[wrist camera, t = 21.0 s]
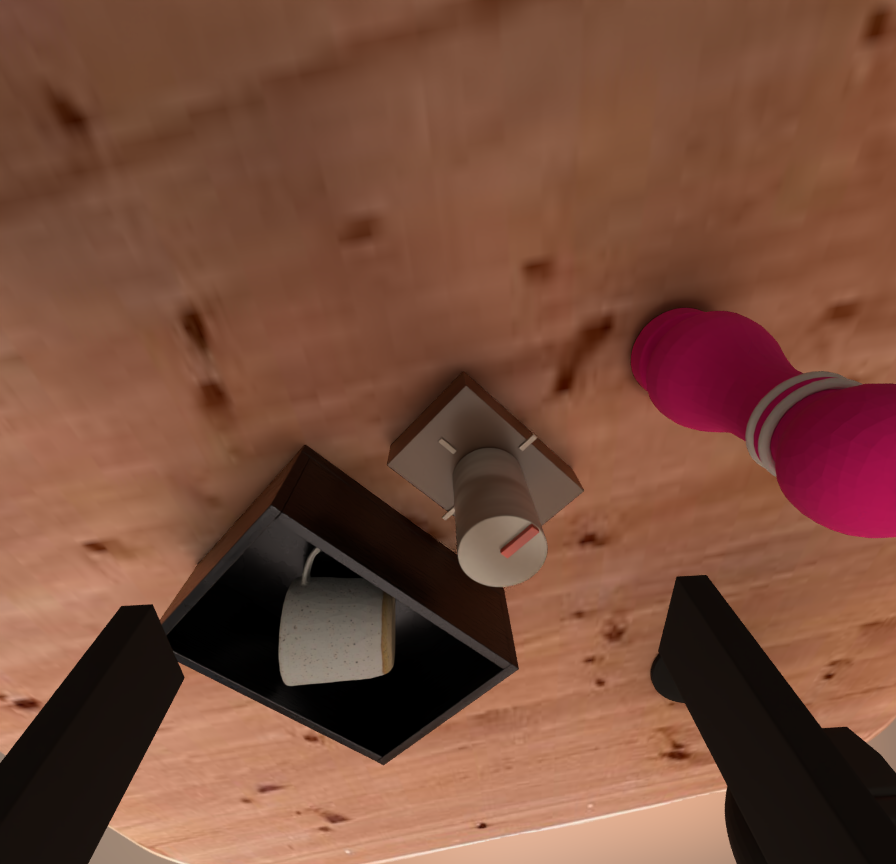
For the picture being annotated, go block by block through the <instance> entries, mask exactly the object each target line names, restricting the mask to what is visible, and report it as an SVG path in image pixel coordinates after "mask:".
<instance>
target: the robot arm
mask: <svg viewBox="0 0 896 864" xmlns="http://www.w3.org/2000/svg"><path fill="white" fill-rule="evenodd" d="M658 652H659V654H660V656H661V658H662V660H663V662H664V663H665V665H666V667H667V669H668V671H669V673H670V675H671V677H672V679H673V681H674V683H675V685H676V687H677V689H678V691H679V693H680V695H681V696H682V698H683V700H684V702H685V704H686V706H687V708H688V710H689V712H690V714H691V716H692V718H693V720H694V722H695V724H696V726H697V727H698V729H699V731H700V733H701V735H702V737H703V739H704V741H705V743H706V745H707V747H708V749H709V751H710V753H711V755H712V757H713V759H714V760H715V762H716V764H717V766H718V768H719V770H720V772H721V774H722V776H723V778H724V780H725V782H726V784H727V786H728V788H729V790H730V791H731V793H732V795H733V797H734V799H735V801H736V803H737V805H738V807H739V809H740V811H741V813H742V815H743V817H744V819H745V821H746V823H747V824H748V826H749V828H750V830H751V832H752V834H753V836H754V838H755V840H756V842H757V844H758V846H759V848H760V850H761V852H762V854H763V855H764V857H765V859H766V861H767V863H768V864H896V773H895V771H894V770H893V769H892V768H891V767H890V766H889V764H888V763H887V762H886V761H885V759H884V758H883V757H882V756H881V755H880V754H879V753H878V752H877V751H876V750H874V749H873V748H872V747H871V746H869V745H868V744H867V743H866V742H865V741H863V740H862V739H861V738H860V737H859V736H857V735H856V734H855V733H854V732H852V731H851V730H850V729H849V728H848V727H835V728H821V726H820V725H819V724H818V722H817V721H816V720H815V718H814V717H813V716H812V714H811V713H810V712H809V710H808V709H807V708H806V706H805V705H804V704H803V702H802V701H801V700H800V698H799V697H798V696H797V694H796V693H795V692H794V690H793V689H792V688H791V687H790V685H789V684H788V683H787V681H786V680H785V679H784V677H783V676H782V675H781V673H780V672H779V671H778V669H777V668H776V667H775V665H774V664H773V663H772V661H771V660H770V659H769V657H768V656H767V655H766V653H765V652H764V651H763V649H762V648H761V647H760V645H759V644H758V643H757V641H756V640H755V639H754V637H753V636H752V635H751V633H750V632H749V631H748V629H747V628H746V627H745V625H744V624H743V623H742V621H741V620H740V619H739V618H738V616H737V615H736V614H735V612H734V611H733V610H732V608H731V607H730V606H729V604H728V603H727V602H726V600H725V599H724V598H723V596H722V595H721V594H720V592H719V591H718V590H717V588H716V587H715V586H714V584H713V583H712V582H711V580H710V579H709V578H708V576H707V575H698V576H680V577H676V581H675V585H674V589H673V593H672V597H671V601H670V605H669V609H668V614H667V618H666V622H665V626H664V630H663V634H662V638H661V642H660V646H659V650H658ZM184 678H185V677H184V675H183V673H182V670H181V668H180V666H179V664H178V661H177V659H176V657H175V654H174V652H173V650H172V648H171V645H170V643H169V641H168V638H167V636H166V634H165V632H164V629H163V627H162V625H161V622H160V620H159V618H158V616H157V613H156V611H155V609H154V606H153V604H151V605H133V606H121V607H120V609H119V610H118V611H117V612H116V614H115V615H114V616H113V618H112V619H111V620H110V622H109V623H108V624H107V625H106V627H105V628H104V629H103V631H102V632H101V633H100V634H99V636H98V637H97V638H96V640H95V641H94V642H93V644H92V645H91V646H90V647H89V649H88V650H87V651H86V653H85V654H84V655H83V657H82V658H81V659H80V660H79V662H78V663H77V664H76V666H75V667H74V668H73V669H72V671H71V672H70V673H69V675H68V676H67V677H66V679H65V680H64V681H63V682H62V684H61V685H60V686H59V688H58V689H57V690H56V692H55V693H54V694H53V695H52V697H51V698H50V699H49V701H48V702H47V703H46V704H45V706H44V707H43V708H42V710H41V711H40V712H39V714H38V715H37V716H36V717H35V719H34V720H33V721H32V723H31V724H30V725H29V727H28V728H27V729H26V730H25V732H24V733H23V734H22V736H21V737H20V738H19V739H18V741H17V742H16V743H15V745H14V746H13V747H12V749H11V750H10V751H9V752H8V754H7V755H6V757H5V758H4V759H3V760H2V762H1V763H0V864H88V863H89V861H90V859H91V857H92V855H93V853H94V851H95V849H96V847H97V846H98V843H99V842H100V840H101V838H102V836H103V834H104V832H105V830H106V828H107V826H108V824H109V822H110V821H111V819H112V817H113V815H114V813H115V811H116V809H117V807H118V805H119V803H120V801H121V799H122V797H123V796H124V794H125V792H126V790H127V788H128V786H129V784H130V782H131V780H132V778H133V776H134V774H135V772H136V771H137V769H138V767H139V765H140V763H141V761H142V759H143V757H144V755H145V753H146V751H147V749H148V747H149V745H150V744H151V742H152V740H153V738H154V736H155V734H156V732H157V730H158V728H159V726H160V724H161V722H162V720H163V719H164V717H165V715H166V713H167V711H168V709H169V707H170V705H171V703H172V701H173V699H174V697H175V695H176V694H177V692H178V690H179V688H180V686H181V684H182V682H183V680H184Z"/></svg>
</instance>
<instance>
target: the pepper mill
mask: <svg viewBox="0 0 896 864" xmlns="http://www.w3.org/2000/svg"><path fill="white" fill-rule="evenodd" d="M631 368H632V372H633V375H634V377H635V379H636V380H637V382H638V383H639V384H640V386H642V387H643V388H644V389H645V390H646V391H648V394H649V397H650V399H651V400H652V402H653V404H654V405H655V407H656V408H657V409H658V410H659V411H660V412H661V413H662V414H663V415H665V416H666V417H668V418H669V419H671V420H672V421H674V422H675V423H677V424H679V425H682V426H684V427H688V428H691V429H695V430H699V431H706V432H729V433H732V434H734V435H736V436H737V437H739V438H741V439H743V440H744V441H746V446H747V449H748V451H749V454H750V455H751V457H752V458H753V460H754V461H756V462H757V463H758V464H759V465H760V466H762V467H764V468H766V469H767V470H768V471H769V472H770V473H771V474H772V475H774V476H776V477H777V481H778V483H779V486H780V488H781V490H782V492H783V493H784V495H785V497H786V498H787V499H788V500H789V501H790V502H791V503H792V504H793V505H794V506H795V507H796V508H797V509H798V510H799V511H800V512H801V513H802V514H804V515H805V516H807V517H808V518H810V519H812V520H813V521H815V522H816V523H818V524H820V525H822V526H825V527H827V528H829V529H831V530H834V531H837V532H840V533H843V534H846V535H852V536H859V537H866V538H887V537H896V384H861V383H859V382H857V381H854V380H850V379H847V378H845V377H843V376H841V375H839V374H836V373H831V372H825V371H818V372H809V373H804V374H803V373H801V372H799V371H797V370H796V369H795V368H794V367H793V366H792V365H791V364H790V363H789V361H788V360H787V358H786V357H785V355H784V353H783V352H782V350H781V348H780V346H779V344H778V342H777V341H776V340H775V339H774V338H773V336H771V335H770V334H769V333H768V332H767V331H766V330H765V329H764V328H763V327H762V326H761V325H759V324H758V323H756V322H754V321H753V320H751V319H749V318H747V317H744V316H742V315H740V314H737V313H733V312H728V311H710V312H704V311H701V310H697V309H694V308H678V309H673V310H670V311H667V312H665V313H663V314H661V315H659V316H657V317H656V318H654V319H653V320H652V321H651V322H649V323H648V324H647V325H646V326H645V327H644V328H643V330H642V331H641V332H640V334H639V336H638V337H637V339H636V341H635V344H634V346H633V349H632V354H631Z"/></svg>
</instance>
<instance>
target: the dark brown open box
mask: <svg viewBox="0 0 896 864" xmlns="http://www.w3.org/2000/svg"><path fill="white" fill-rule="evenodd" d="M314 547H317V548H318V549H320V550H321V551H320V552H319V553H318V554H317V555H316V556H315V558H314V560H313V563H312V567H311V572H310V577H334V578H364V579H366V580H367V581H369V582H371V583H372V584H374V585H375V586H377V587H378V588H380V589H381V590H383V591H384V592H386V593H387V594H389V595H390V596H392V597H394V598H395V657H394V666H393V668H392V669H391V670H390V671H389V673H387V674H384V675H381V676H378V677H374V678H370V679H361V680H348V681H337V682H329V683H317V684H306V685H295V686H287V685H286V684H285V683H284V682H283V679H282V676H281V673H280V666H279V631H280V624H281V616H282V609H283V604H284V601H285V597H286V593H287V591H288V589H289V587H290V585H291V583H292V581H293V580H294V579H295V578H297V577H302V574H303V570H304V566H305V563H306V561H307V558H308V556H309V555H310V553H311V551H312V550H313V549H314ZM160 622H161V625H162V627H163V629H164V632H165V634H166V636H167V638H168V641H169V643H170V645H171V648H172V650H173V652H174V654H175V657H176V659H177V661H178V662H179V663H181V664H183V665H185V666H187V667H189V668H191V669H193V670H195V671H197V672H199V673H201V674H203V675H205V676H207V677H209V678H211V679H213V680H215V681H217V682H219V683H221V684H223V685H225V686H227V687H229V688H231V689H233V690H235V691H237V692H239V693H241V694H243V695H245V696H247V697H249V698H251V699H253V700H255V701H257V702H259V703H261V704H263V705H265V706H267V707H269V708H271V709H273V710H275V711H277V712H279V713H281V714H283V715H285V716H287V717H289V718H291V719H293V720H295V721H297V722H299V723H301V724H303V725H305V726H307V727H309V728H311V729H313V730H315V731H317V732H319V733H321V734H323V735H325V736H327V737H329V738H331V739H333V740H335V741H337V742H339V743H341V744H343V745H345V746H347V747H349V748H351V749H353V750H355V751H357V752H359V753H361V754H363V755H365V756H367V757H369V758H371V759H373V760H375V761H377V762H378V763H380V764H382V765H385V764H386V763H388V762H389V761H390V760H392V759H393V758H395V757H396V756H397V755H399V754H400V753H402V752H403V751H404V750H406V749H407V748H409V747H410V746H411V745H413V744H414V743H416V742H417V741H418V740H420V739H421V738H423V737H424V736H425V735H427V734H428V733H430V732H431V731H432V730H434V729H435V728H437V727H438V726H439V725H441V724H442V723H444V722H445V721H447V720H448V719H449V718H451V717H452V716H454V715H455V714H456V713H458V712H459V711H461V710H462V709H463V708H465V707H466V706H468V705H469V704H470V703H472V702H473V701H475V700H476V699H477V698H479V697H480V696H482V695H483V694H484V693H486V692H487V691H489V690H490V689H491V688H493V687H494V686H496V685H497V684H498V683H500V682H501V681H503V680H504V679H505V678H507V677H508V676H510V675H511V674H513V673H514V672H515V671H517V670H518V669H519V667H518V662H517V657H516V651H515V646H514V641H513V635H512V630H511V624H510V619H509V614H508V608H507V603H506V598H505V592H504V589H502V588H501V587H492V586H487V585H483V584H480V583H478V582H476V581H474V580H473V579H471V578H470V577H469V576H468V575H467V574H466V573H465V572H464V571H463V569H462V568H461V566H460V564H459V560H458V556H457V555H456V554H454V553H453V552H452V551H450V550H449V549H447V548H446V547H445V546H443V545H442V544H441V543H439V542H438V541H436V540H435V539H434V538H432V537H431V536H430V535H428V534H427V533H425V532H424V531H423V530H421V529H420V528H419V527H417V526H416V525H415V524H413V523H412V522H410V521H409V520H408V519H406V518H405V517H404V516H402V515H401V514H399V513H398V512H397V511H395V510H394V509H393V508H391V507H390V506H388V505H387V504H386V503H384V502H383V501H382V500H380V499H379V498H377V497H376V496H375V495H373V494H372V493H371V492H369V491H368V490H366V489H365V488H364V487H362V486H361V485H360V484H358V483H357V482H356V481H354V480H353V479H351V478H350V477H349V476H347V475H346V474H345V473H343V472H342V471H340V470H339V469H338V468H336V467H335V466H334V465H332V464H331V463H329V462H328V461H327V460H325V459H324V458H323V457H321V456H320V455H318V454H317V453H316V452H314V451H313V450H312V449H310V448H309V447H307V446H306V445H304V446H303V448H302V449H301V450H300V451H299V452H298V453H297V454H296V455H295V456H294V458H293V459H292V460H291V461H290V462H289V463H288V464H287V465H286V467H285V468H284V469H283V470H282V471H281V472H280V473H279V474H278V476H277V477H276V478H275V479H274V480H273V481H272V482H271V483H270V484H269V486H268V487H267V488H266V489H265V490H264V491H263V492H262V493H261V495H260V496H259V497H258V498H257V499H256V500H255V501H254V502H253V504H252V505H251V506H250V507H249V508H248V509H247V510H246V511H245V513H244V514H243V515H242V516H241V517H240V518H239V519H238V520H237V521H236V523H235V524H234V525H233V526H232V527H231V528H230V529H229V530H228V532H227V533H226V534H225V535H224V536H223V537H222V538H221V539H220V541H219V542H218V543H217V544H216V545H215V546H214V547H213V548H212V549H211V551H210V552H209V553H208V554H207V555H206V556H205V557H204V558H203V560H202V561H201V562H200V563H199V564H198V565H197V566H196V568H195V569H194V571H193V572H192V574H191V575H190V577H189V578H188V580H187V581H186V583H185V584H184V586H183V587H182V588H181V590H180V591H179V593H178V594H177V596H176V597H175V599H174V600H173V602H172V603H171V604H170V606H169V607H168V609H167V610H166V612H165V613H164V615H163V616H162V618H161V619H160Z"/></svg>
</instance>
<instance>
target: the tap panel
mask: <svg viewBox="0 0 896 864" xmlns="http://www.w3.org/2000/svg"><path fill="white" fill-rule="evenodd" d="M482 448H497V449H501V450H504V451H506V452H508V453H510V454H511V455H512V456H514V457H515V458H516V460H517V461H518V462H519V464H520V466H521V468H522V471H523V474H524V477H525V480H526V483H527V486H528V488H529V491H530V494H531V497H532V500H533V503H534V506H535V509H536V512H537V514H538V517H539V520H540V523H541V526H542V525H543V524H545V523H546V522H547V521H548V520H549V519H551V518H552V517H553V516H554V515H556V514H557V513H558V512H559V511H560V510H562V509H563V508H564V507H565V506H567V505H568V504H569V503H570V502H571V501H573V500H574V499H575V498H576V497H577V496H579V495H580V494H581V493H582V492H584V489H583V487H582V486H581V484H580V482H579V480H578V478H577V476H576V475H575V473H574V471H573V470H572V469H571V468H570V467H569V466H568V465H567V464H566V463H564V462H563V461H562V460H561V459H560V458H559V457H558V456H557V455H556V454H555V453H553V452H552V451H551V450H550V449H549V448H548V447H547V446H546V445H545V444H543V443H542V442H541V441H540V440H539V439H538V438H537V436H536V435H534V434H532V433H531V432H530V431H529V430H528V429H527V428H526V427H525V426H524V425H522V424H521V423H520V422H519V421H518V420H517V419H516V418H515V417H514V416H512V415H511V414H510V413H509V412H508V411H507V410H506V409H505V408H504V407H503V406H501V405H500V404H499V403H498V402H497V401H496V400H495V399H494V398H493V397H491V396H490V395H489V394H488V393H487V392H486V391H485V390H484V389H483V388H481V387H480V386H479V385H478V384H477V383H476V382H475V381H474V380H473V379H472V378H470V377H469V376H468V375H467V374H466V373H465V372H462V373H461V374H460V375H459V376H458V377H457V378H456V379H455V380H454V381H453V382H452V383H451V384H450V385H449V387H448V388H447V389H446V390H445V391H444V392H443V393H442V394H441V395H440V396H439V397H438V398H437V399H436V400H435V401H434V402H433V403H432V404H431V405H430V406H429V407H428V408H427V409H426V410H425V411H424V412H423V413H422V414H421V415H420V416H419V417H418V418H417V419H416V420H415V421H414V422H413V423H412V424H411V425H410V426H409V427H408V429H407V430H406V431H405V432H404V433H403V434H402V435H401V436H400V437H399V438H398V439H397V440H396V441H395V442H394V443H393V444H392V445H391V446H390V451H389V457H388V462H387V466H389V467H390V468H391V469H393V470H394V471H395V472H397V473H398V474H399V475H400V476H402V477H403V478H404V479H406V480H407V481H408V482H410V483H411V484H412V485H414V486H415V487H416V488H418V489H419V490H420V491H421V492H423V493H424V494H425V495H427V496H428V497H429V498H431V499H432V500H433V501H435V502H436V503H437V504H439V505H440V506H441V507H442V508H444V509H445V510H446V511H448V512H447V513H446V514H445V515H443V516H442V518H443V519H444V520H447V519H448V518H449V517H450V516H451V515H453V516H454V517H455V509H454V494H453V473H454V470H455V468H456V466H457V464H458V463H459V462H460V460H461V459H462V458H463V457H465V456H466V455H467V454H469V453H471V452H473V451H475V450H478V449H482Z"/></svg>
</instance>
